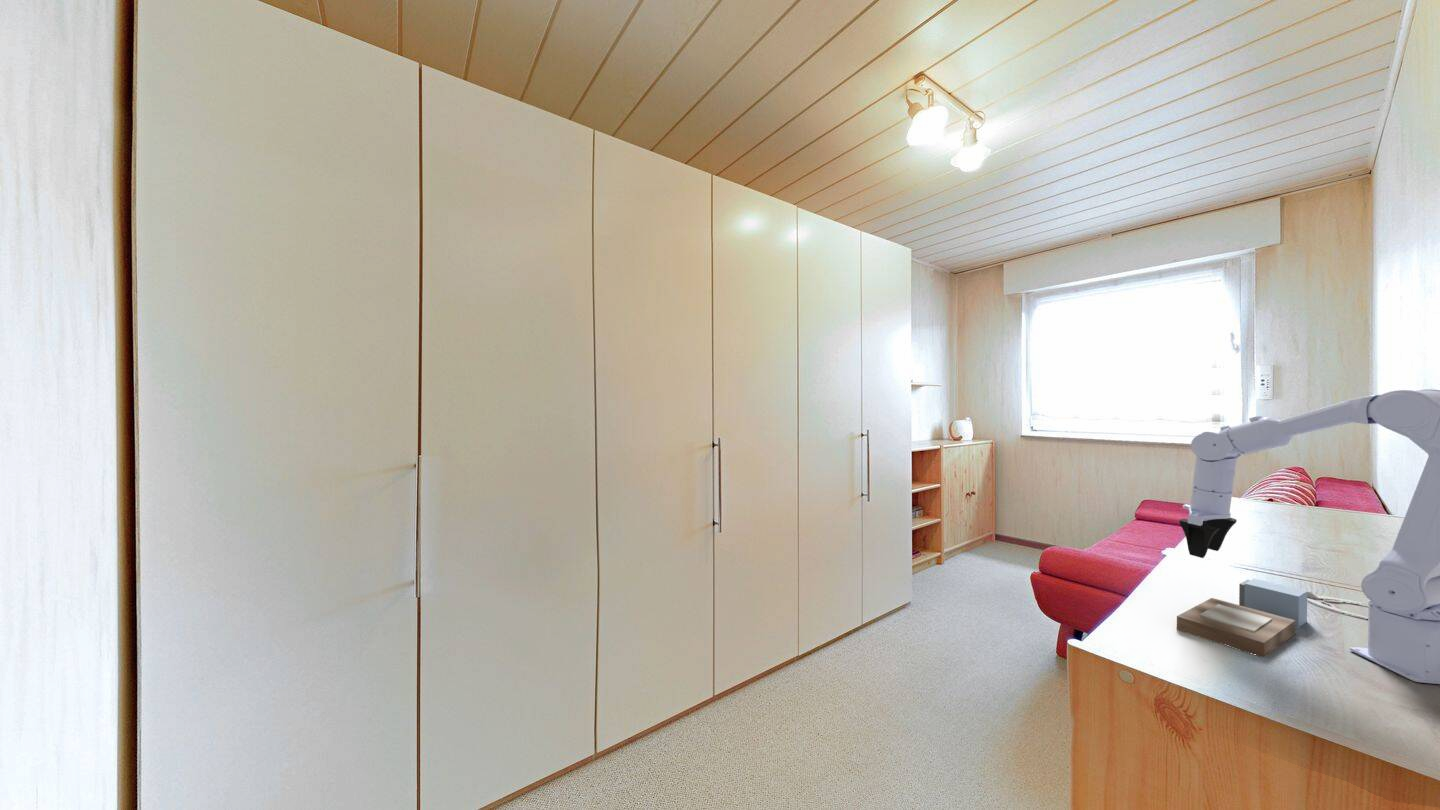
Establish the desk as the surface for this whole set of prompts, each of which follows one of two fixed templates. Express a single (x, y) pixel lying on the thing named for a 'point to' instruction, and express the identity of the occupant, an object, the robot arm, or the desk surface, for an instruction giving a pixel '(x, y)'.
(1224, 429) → the robot arm
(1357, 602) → the pliers
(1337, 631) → the desk surface
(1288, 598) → the block
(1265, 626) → the stand
